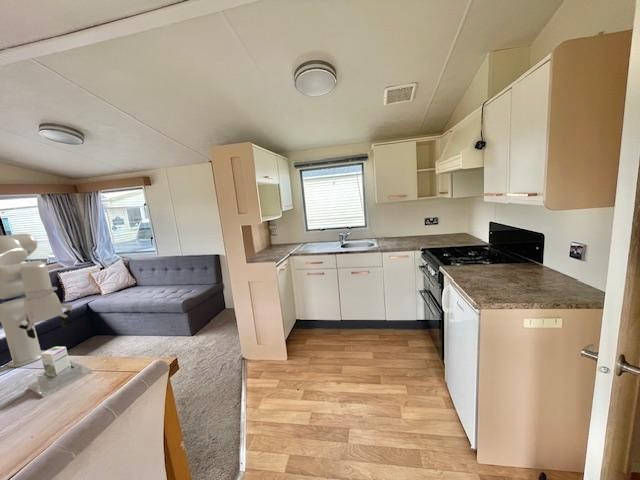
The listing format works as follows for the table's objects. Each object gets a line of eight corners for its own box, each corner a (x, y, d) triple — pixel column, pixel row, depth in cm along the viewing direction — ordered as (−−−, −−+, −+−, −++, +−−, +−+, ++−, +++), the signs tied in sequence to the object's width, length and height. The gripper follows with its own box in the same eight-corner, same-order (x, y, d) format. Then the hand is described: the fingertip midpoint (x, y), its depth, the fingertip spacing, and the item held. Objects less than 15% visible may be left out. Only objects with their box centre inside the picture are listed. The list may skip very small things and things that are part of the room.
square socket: (28, 388, 106) (26, 378, 106) (77, 365, 120) (75, 356, 120) (42, 397, 100) (40, 387, 100) (92, 372, 114) (90, 363, 114)
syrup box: (74, 375, 113) (66, 345, 111) (58, 385, 107) (50, 353, 105) (63, 375, 114) (55, 345, 111) (47, 384, 108) (39, 353, 106)
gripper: (63, 285, 114) (71, 321, 116) (4, 300, 98) (15, 340, 101) (71, 287, 110) (79, 323, 113) (11, 302, 95) (22, 344, 98)
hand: (49, 331), depth 107 cm, fingers open, 9 cm apart
